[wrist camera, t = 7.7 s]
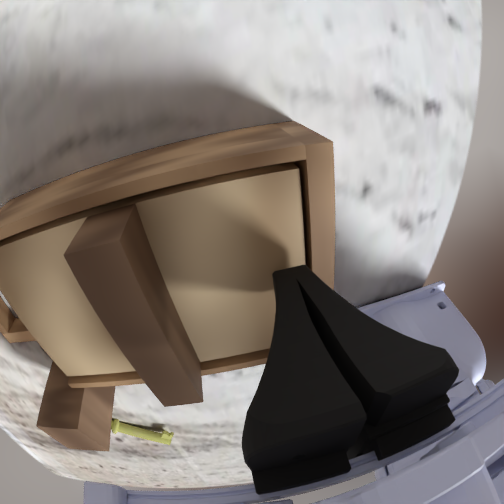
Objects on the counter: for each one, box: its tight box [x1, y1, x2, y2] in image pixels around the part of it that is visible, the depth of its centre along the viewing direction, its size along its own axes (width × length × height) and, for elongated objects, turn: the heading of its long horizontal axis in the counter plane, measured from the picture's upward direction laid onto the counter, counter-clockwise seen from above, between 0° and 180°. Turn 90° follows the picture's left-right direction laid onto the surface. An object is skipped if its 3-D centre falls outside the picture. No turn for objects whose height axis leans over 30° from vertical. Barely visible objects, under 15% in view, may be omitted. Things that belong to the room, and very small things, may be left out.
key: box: [111, 419, 174, 445], centre depth 25 cm, size 7×12×2 cm, turn 83°
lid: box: [0, 162, 305, 407], centre depth 12 cm, size 15×9×3 cm, turn 98°
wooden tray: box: [0, 121, 335, 388], centre depth 14 cm, size 22×11×5 cm, turn 98°
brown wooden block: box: [36, 361, 115, 451], centre depth 18 cm, size 4×4×7 cm
